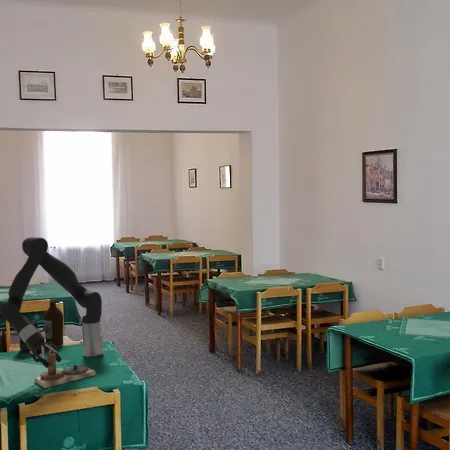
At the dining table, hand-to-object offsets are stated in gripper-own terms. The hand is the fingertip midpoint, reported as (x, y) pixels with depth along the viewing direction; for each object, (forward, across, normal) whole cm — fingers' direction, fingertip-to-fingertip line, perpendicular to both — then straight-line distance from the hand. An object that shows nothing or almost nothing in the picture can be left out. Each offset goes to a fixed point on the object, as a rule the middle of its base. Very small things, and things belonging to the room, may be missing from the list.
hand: (54, 363), depth 244 cm
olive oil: (-22, +54, +34) cm, 68 cm away
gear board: (+7, +5, +5) cm, 10 cm away
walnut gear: (+3, 0, +5) cm, 6 cm away
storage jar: (-26, +40, +38) cm, 61 cm away
